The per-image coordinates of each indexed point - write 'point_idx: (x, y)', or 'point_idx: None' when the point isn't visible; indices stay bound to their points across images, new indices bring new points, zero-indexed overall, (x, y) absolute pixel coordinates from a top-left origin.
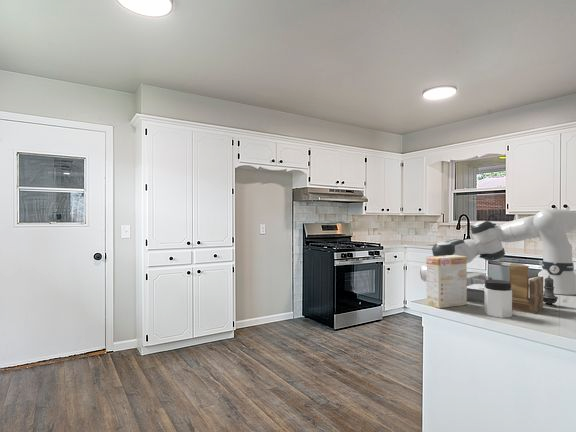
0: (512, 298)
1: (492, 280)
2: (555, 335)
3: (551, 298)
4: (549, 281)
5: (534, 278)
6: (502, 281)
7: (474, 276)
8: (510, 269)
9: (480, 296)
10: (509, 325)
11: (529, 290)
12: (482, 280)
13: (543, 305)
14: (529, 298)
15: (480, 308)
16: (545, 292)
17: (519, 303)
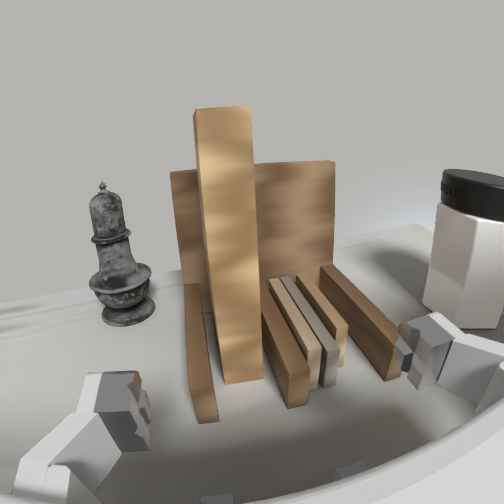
0: (299, 313)
1: (500, 182)
2: (431, 229)
3: (148, 267)
4: (121, 203)
5: (263, 165)
6: (470, 174)
7: (471, 418)
8: (250, 142)
9: None
10: None
11: (334, 206)
12: (440, 320)
13: (149, 314)
14: (333, 239)
15: None
16: (127, 260)
17: (348, 281)
